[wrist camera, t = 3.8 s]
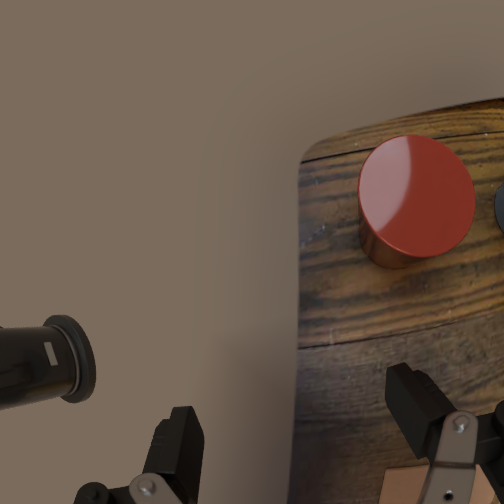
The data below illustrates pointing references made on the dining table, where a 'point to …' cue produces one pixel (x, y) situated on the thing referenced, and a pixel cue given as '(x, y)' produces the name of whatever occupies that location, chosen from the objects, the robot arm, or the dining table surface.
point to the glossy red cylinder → (413, 201)
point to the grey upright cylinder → (500, 206)
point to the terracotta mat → (411, 482)
